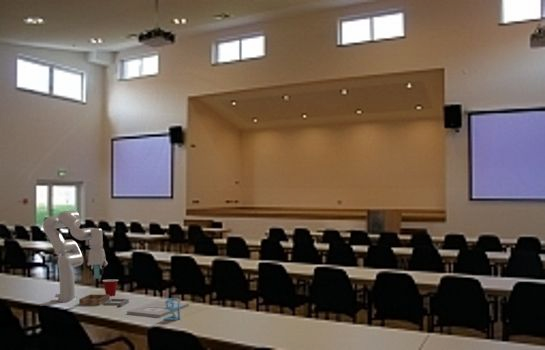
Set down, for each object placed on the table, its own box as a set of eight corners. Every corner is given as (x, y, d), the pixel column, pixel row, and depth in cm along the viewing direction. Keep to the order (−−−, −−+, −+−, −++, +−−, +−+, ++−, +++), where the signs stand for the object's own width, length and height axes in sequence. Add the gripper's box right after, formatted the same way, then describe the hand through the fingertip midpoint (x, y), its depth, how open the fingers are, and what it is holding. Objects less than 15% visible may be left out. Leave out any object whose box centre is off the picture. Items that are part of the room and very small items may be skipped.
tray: (103, 306, 340) (103, 302, 340) (111, 302, 352) (111, 298, 352) (120, 306, 338) (120, 303, 338) (128, 302, 350) (128, 298, 350)
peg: (92, 278, 345) (92, 264, 345) (96, 277, 349) (95, 263, 350) (99, 278, 344) (98, 264, 344) (102, 277, 349) (102, 263, 349)
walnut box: (79, 306, 341) (79, 299, 341) (90, 301, 355) (90, 294, 355) (99, 307, 339) (99, 299, 339) (109, 302, 353) (109, 294, 353)
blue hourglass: (174, 321, 299) (173, 300, 299) (163, 319, 303) (162, 299, 303) (183, 318, 305) (182, 297, 305) (172, 316, 310) (172, 296, 310)
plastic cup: (121, 294, 375) (120, 278, 375) (115, 298, 364) (114, 281, 364) (106, 295, 376) (106, 278, 376) (100, 298, 365) (99, 281, 365)
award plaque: (188, 306, 336) (188, 303, 336) (160, 318, 309) (160, 314, 309) (157, 303, 346) (157, 300, 346) (127, 314, 319) (127, 311, 319)
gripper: (82, 248, 345) (83, 276, 345) (106, 247, 342) (107, 275, 342) (88, 246, 352) (88, 274, 352) (111, 246, 350) (112, 273, 349)
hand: (97, 274), depth 347 cm, fingers closed on peg, 4 cm apart
